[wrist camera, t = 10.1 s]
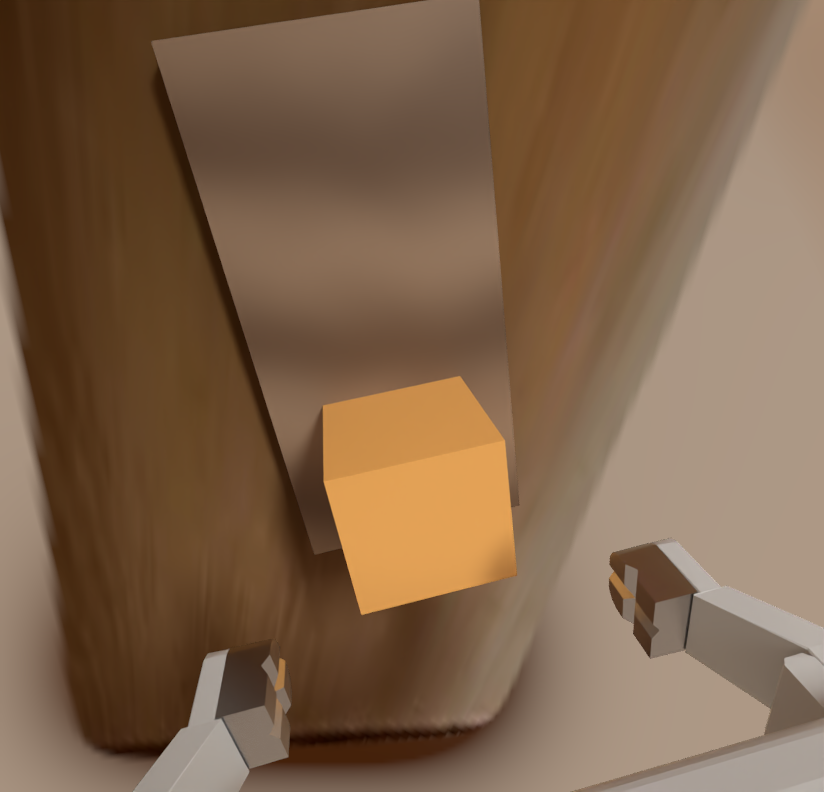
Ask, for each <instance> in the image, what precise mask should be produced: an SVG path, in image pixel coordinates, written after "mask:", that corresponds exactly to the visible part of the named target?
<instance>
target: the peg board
mask: <svg viewBox="0 0 824 792" xmlns="http://www.w3.org/2000/svg"><path fill="white" fill-rule="evenodd" d="M151 43H152V46H153V50H154V53H155V56H156V59H157V62H158V65H159V68H160V72H161V75H162V78H163V81H164V84H165V87H166V90H167V94H168V97H169V100H170V103H171V106H172V109H173V112H174V116H175V119H176V122H177V125H178V128H179V131H180V134H181V138H182V141H183V144H184V147H185V150H186V153H187V156H188V160H189V163H190V166H191V169H192V172H193V175H194V178H195V181H196V185H197V188H198V191H199V194H200V197H201V200H202V203H203V207H204V210H205V213H206V216H207V219H208V222H209V225H210V229H211V232H212V235H213V238H214V241H215V244H216V247H217V251H218V254H219V257H220V260H221V263H222V266H223V269H224V273H225V276H226V279H227V282H228V285H229V288H230V291H231V295H232V298H233V301H234V304H235V307H236V310H237V313H238V317H239V320H240V323H241V326H242V329H243V332H244V335H245V339H246V342H247V345H248V348H249V351H250V354H251V357H252V361H253V364H254V367H255V370H256V373H257V376H258V379H259V382H260V386H261V389H262V392H263V395H264V398H265V401H266V404H267V408H268V411H269V414H270V417H271V420H272V423H273V426H274V430H275V433H276V436H277V439H278V442H279V445H280V448H281V452H282V455H283V458H284V461H285V464H286V467H287V470H288V474H289V477H290V480H291V483H292V486H293V489H294V492H295V496H296V499H297V502H298V505H299V508H300V511H301V514H302V518H303V521H304V524H305V527H306V530H307V533H308V536H309V540H310V543H311V546H312V549H313V552H314V555H316V554H320V553H325V552H329V551H333V550H337V549H341V548H342V545H341V541H340V538H339V534H338V531H337V527H336V524H335V520H334V517H333V513H332V510H331V506H330V503H329V499H328V495H327V492H326V488H325V485H324V470H323V405H328V404H333V403H337V402H342V401H347V400H351V399H356V398H360V397H365V396H370V395H374V394H379V393H384V392H388V391H393V390H397V389H402V388H407V387H411V386H416V385H421V384H425V383H430V382H435V381H439V380H444V379H448V378H453V377H458V376H460V377H461V378H462V379H463V381H464V382H465V384H466V385H467V387H468V388H469V389H470V391H471V392H472V394H473V395H474V397H475V398H476V400H477V401H478V402H479V404H480V405H481V407H482V408H483V410H484V411H485V412H486V414H487V415H488V417H489V418H490V420H491V421H492V422H493V424H494V425H495V427H496V428H497V430H498V431H499V432H500V434H501V435H502V437H503V438H504V440H505V446H506V457H507V469H508V480H509V491H510V502H511V507H515V506H519V494H518V481H517V469H516V456H515V444H514V431H513V419H512V406H511V394H510V381H509V369H508V356H507V344H506V331H505V319H504V306H503V294H502V281H501V269H500V256H499V244H498V231H497V219H496V206H495V194H494V181H493V169H492V156H491V144H490V131H489V119H488V107H487V94H486V82H485V69H484V57H483V44H482V32H481V19H480V7H479V0H426V1H420V2H413V3H406V4H399V5H393V6H386V7H379V8H372V9H365V10H359V11H352V12H345V13H338V14H331V15H325V16H318V17H311V18H304V19H298V20H291V21H284V22H277V23H270V24H264V25H257V26H250V27H243V28H236V29H230V30H223V31H216V32H209V33H203V34H196V35H189V36H182V37H175V38H169V39H162V40H155V41H151Z"/></svg>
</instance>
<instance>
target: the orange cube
mask: <svg viewBox="0 0 824 792" xmlns="http://www.w3.org/2000/svg"><path fill="white" fill-rule="evenodd" d="M323 470H324V485H325V488H326V492H327V495H328V499H329V503H330V506H331V510H332V513H333V517H334V520H335V524H336V527H337V531H338V534H339V538H340V541H341V545H342V548H343V552H344V555H345V559H346V562H347V566H348V569H349V573H350V576H351V580H352V583H353V587H354V591H355V594H356V598H357V601H358V605H359V608H360V612H361V615H363V614H367V613H371V612H375V611H379V610H383V609H387V608H391V607H395V606H399V605H403V604H407V603H411V602H415V601H418V600H422V599H426V598H430V597H434V596H438V595H442V594H446V593H450V592H454V591H458V590H462V589H466V588H470V587H473V586H477V585H481V584H485V583H489V582H493V581H497V580H501V579H505V578H509V577H513V576H517V569H516V558H515V547H514V536H513V525H512V513H511V502H510V491H509V480H508V469H507V457H506V446H505V440H504V438H503V437H502V435H501V434H500V432H499V431H498V430H497V428H496V427H495V425H494V424H493V422H492V421H491V420H490V418H489V417H488V415H487V414H486V412H485V411H484V410H483V408H482V407H481V405H480V404H479V402H478V401H477V400H476V398H475V397H474V395H473V394H472V392H471V391H470V389H469V388H468V387H467V385H466V384H465V382H464V381H463V379H462V378H461V377H460V376H458V377H453V378H448V379H444V380H439V381H435V382H430V383H425V384H421V385H416V386H411V387H407V388H402V389H397V390H393V391H388V392H384V393H379V394H374V395H370V396H365V397H360V398H356V399H351V400H347V401H342V402H337V403H333V404H328V405H323Z"/></svg>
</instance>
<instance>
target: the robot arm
mask: <svg viewBox="0 0 824 792" xmlns="http://www.w3.org/2000/svg"><path fill="white" fill-rule="evenodd" d="M610 566H611V567H612V569H613V570H614V572H613V574H612V575H611V576H610V578H609V589H610V593H611V597H612V600H613V602H614V604H615V606H616V608H617V610H618V612H619V613H620V615H621V616H622V618H624V619H626V620H627V621H629V622H631V623H633V624H634V630H633V634H634V636H635V637H636V639H637V640H638V641H639V643H640V644H641V646H642V647H643V649H644V650H645V652H646V653H647V655H648V656H649V657H650V658H655V657H659V656H663V655H667V654H671V653H676V652H680V651H684V650H686V651H685V652H686V653H687V654H689V655H690V656H692V657H693V658H695V659H697V660H698V661H699V662H701V663H702V664H704V665H705V666H707V667H708V668H710V669H711V670H713V671H714V672H716V673H717V674H719V675H720V676H722V677H723V678H725V679H726V680H728V681H729V682H731V683H733V684H734V685H736V686H737V687H739V688H740V689H742V690H743V691H745V692H746V693H748V694H749V695H751V696H752V697H754V698H755V699H757V700H758V701H760V702H761V703H763V704H764V705H766V706H767V707H769V708H770V713H769V717H768V721H767V724H766V727H765V734H764V735H763V736H760V737H756V738H753V739H749V740H746V741H743V742H739V743H736V744H733V745H729V746H726V747H722V748H719V749H716V750H712V751H709V752H705V753H702V754H699V755H695V756H692V757H688V758H685V759H682V760H678V761H674V762H671V763H668V764H664V765H661V766H657V767H654V768H651V769H647V770H644V771H640V772H637V773H633V774H630V775H626V776H623V777H620V778H616V779H613V780H609V781H606V782H603V783H599V784H596V785H592V786H589V787H585V788H582V789H579V790H575V791H572V792H824V628H823V627H821V626H818V625H816V624H814V623H811V622H809V621H807V620H805V619H802V618H800V617H798V616H795V615H793V614H791V613H788V612H786V611H784V610H782V609H779V608H777V607H775V606H773V605H770V604H768V603H765V602H763V601H761V600H759V599H756V598H754V597H752V596H750V595H747V594H745V593H743V592H740V591H738V590H736V589H734V588H731V587H729V586H723V587H721V586H720V585H718V583H717V582H716V581H715V580H714V579H713V578H712V577H711V576H710V575H709V574H708V573H707V572H706V571H705V570H704V569H703V568H702V567H701V566H700V565H699V564H698V563H697V562H696V561H695V560H694V559H693V557H691V555H689V553H688V552H687V551H686V550H685V549H684V548H683V547H682V546H681V545H680V544H679V543H678V542H677V541H676V540H674V539H672V538H668V539H664V540H660V541H656V542H652V543H647V544H643V545H639V546H636V547H632V548H628V549H624V550H621V551H617V552H613V553H612V554H611V556H610ZM291 698H292V690H291V678H290V673H289V669H288V666H287V664H286V661H285V660H283V659H281V658H280V646H279V644H278V642H277V640H276V639H269V640H264V641H260V642H255V643H251V644H246V645H242V646H237V647H233V648H229V649H225V650H221V651H216V652H212V653H208V654H207V656H206V657H205V659H204V661H203V664H202V669H201V673H200V677H199V681H198V686H197V690H196V694H195V698H194V703H193V707H192V711H191V715H190V720H189V724H188V727H186V728H182V729H180V731H179V732H178V733H177V735H176V736H175V737H174V738H173V740H172V741H171V742H170V744H169V745H168V746H167V748H166V749H165V750H164V751H163V753H162V754H161V755H160V757H159V758H158V759H157V760H156V762H155V763H154V764H153V766H152V767H151V768H150V770H149V771H148V772H147V773H146V775H145V776H144V777H143V779H142V780H141V781H140V782H139V784H138V785H137V787H136V788H135V789H134V790H133V792H239V791H240V789H241V787H242V785H243V783H244V781H245V779H246V777H247V776H248V774H249V770H248V769H251V768H254V767H258V766H261V765H264V764H267V763H271V762H274V761H277V760H280V759H284V758H287V757H288V755H289V738H290V724H289V721H288V719H287V717H286V713H287V711H288V709H289V708H290V706H291Z"/></svg>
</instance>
